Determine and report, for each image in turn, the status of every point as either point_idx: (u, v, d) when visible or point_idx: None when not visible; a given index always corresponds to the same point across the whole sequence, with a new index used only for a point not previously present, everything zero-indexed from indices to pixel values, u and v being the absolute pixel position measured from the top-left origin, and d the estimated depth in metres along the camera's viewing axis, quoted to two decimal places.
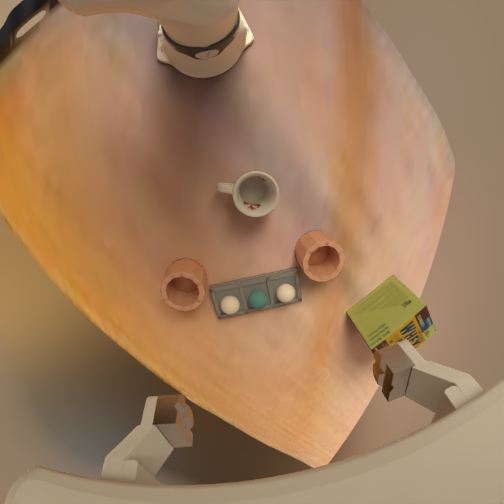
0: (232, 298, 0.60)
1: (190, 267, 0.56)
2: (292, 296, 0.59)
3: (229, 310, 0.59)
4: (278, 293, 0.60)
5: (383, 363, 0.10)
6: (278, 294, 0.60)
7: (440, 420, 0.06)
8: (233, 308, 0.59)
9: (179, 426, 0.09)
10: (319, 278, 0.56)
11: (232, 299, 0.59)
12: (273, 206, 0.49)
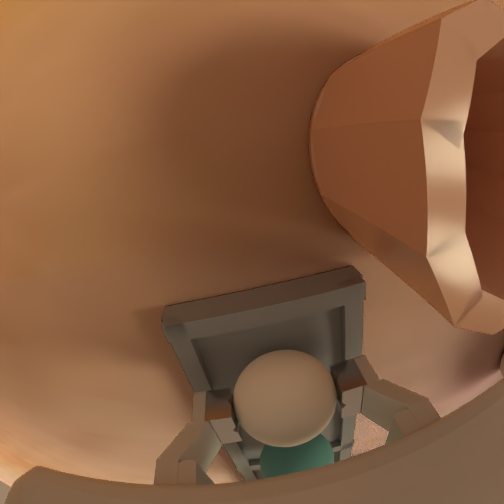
0: None
1: None
2: None
3: (291, 437, 0.08)
4: None
5: (336, 379, 0.10)
6: None
7: (440, 420, 0.06)
8: (297, 444, 0.09)
9: (233, 419, 0.09)
10: None
11: None
12: None
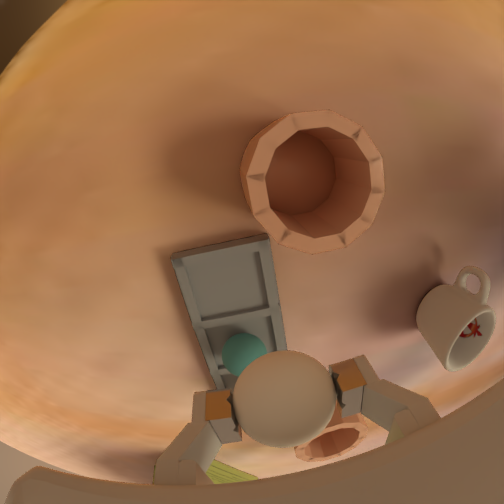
0: None
1: None
2: None
3: (290, 438, 0.08)
4: None
5: (336, 379, 0.10)
6: None
7: (440, 420, 0.06)
8: (296, 444, 0.09)
9: (233, 419, 0.09)
10: (303, 446, 0.26)
11: None
12: (450, 368, 0.22)
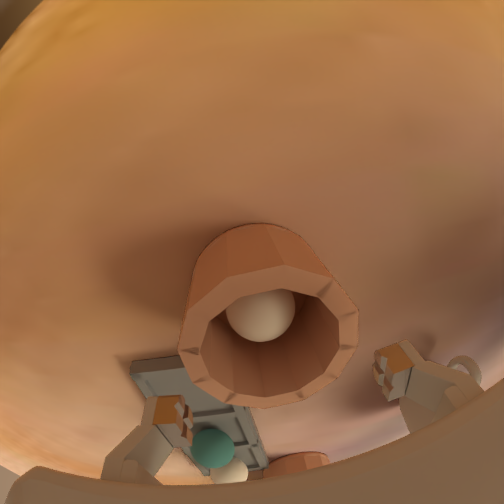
0: (292, 318, 0.16)
1: None
2: None
3: (258, 325, 0.15)
4: (233, 472, 0.22)
5: (383, 363, 0.10)
6: (231, 473, 0.22)
7: (440, 420, 0.06)
8: (264, 335, 0.15)
9: (179, 426, 0.09)
10: None
11: (291, 321, 0.16)
12: None
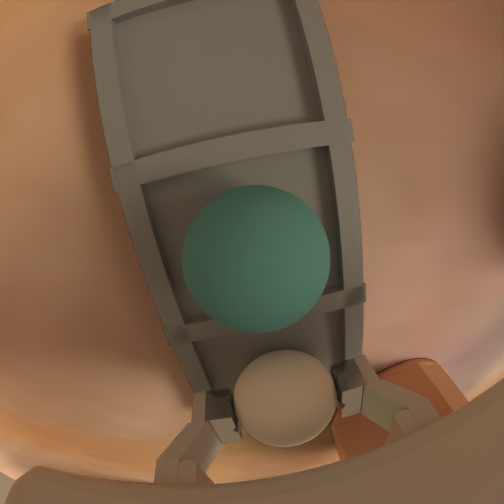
0: None
1: None
2: (290, 445, 0.09)
3: None
4: (306, 383, 0.09)
5: (336, 379, 0.10)
6: (301, 385, 0.09)
7: (440, 420, 0.06)
8: None
9: (233, 419, 0.09)
10: None
11: None
12: None
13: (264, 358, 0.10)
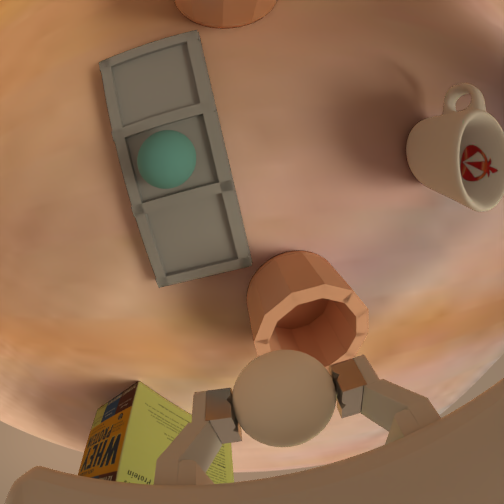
0: None
1: None
2: (289, 445, 0.09)
3: None
4: (305, 382, 0.09)
5: (336, 379, 0.10)
6: (300, 385, 0.09)
7: (440, 420, 0.06)
8: None
9: (233, 419, 0.09)
10: (265, 337, 0.19)
11: None
12: (468, 198, 0.16)
13: (263, 358, 0.10)
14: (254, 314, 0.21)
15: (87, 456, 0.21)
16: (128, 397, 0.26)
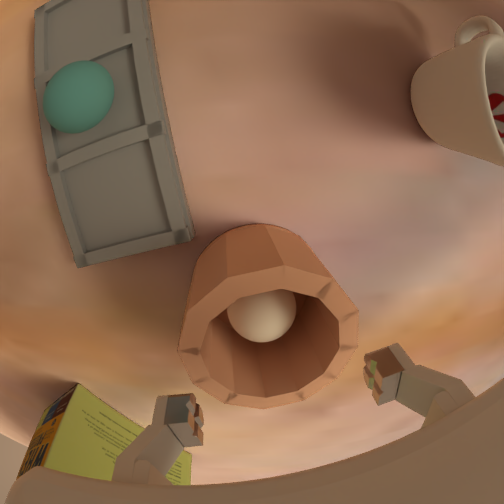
0: None
1: None
2: (263, 340, 0.15)
3: None
4: None
5: (373, 367, 0.10)
6: None
7: (440, 420, 0.06)
8: None
9: (191, 425, 0.09)
10: (194, 344, 0.12)
11: None
12: (503, 146, 0.09)
13: None
14: (186, 309, 0.14)
15: (24, 461, 0.14)
16: (65, 401, 0.19)
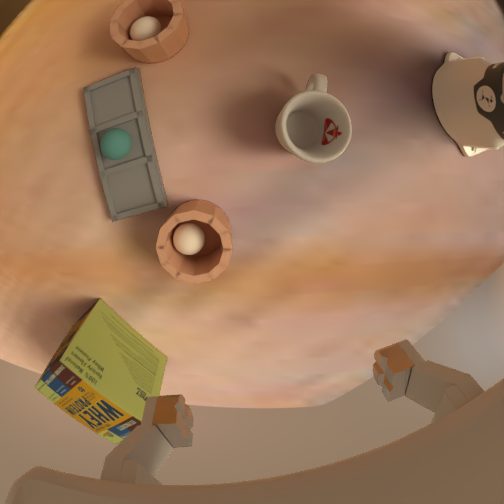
0: (154, 28, 0.25)
1: (181, 32, 0.25)
2: (181, 252, 0.35)
3: (133, 26, 0.24)
4: (186, 228, 0.34)
5: (383, 363, 0.10)
6: (184, 228, 0.34)
7: (440, 420, 0.06)
8: (135, 30, 0.24)
9: (179, 425, 0.09)
10: (162, 244, 0.31)
11: (151, 27, 0.24)
12: (298, 152, 0.28)
13: None
14: None
15: None
16: (91, 308, 0.38)
